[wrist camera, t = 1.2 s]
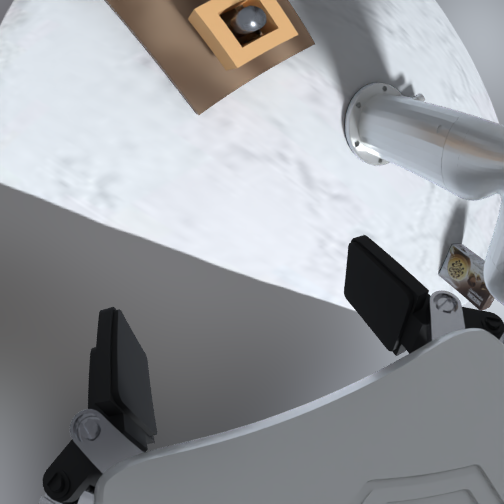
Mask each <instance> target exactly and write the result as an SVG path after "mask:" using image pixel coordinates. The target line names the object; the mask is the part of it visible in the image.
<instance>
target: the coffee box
mask: <svg viewBox="0 0 504 504" xmlns="http://www.w3.org/2000/svg"><path fill="white" fill-rule="evenodd" d="M484 263H485V261H484V260H483V259H482V258H480V257H479V256H478V255H476V254H475V253H473V252H472V251H471V250H469V249H468V248H467V247H465V246H464V245H462V244H452V245H451V248H450V250H449V252H448V255H447V257H446V259H445V262H444V264H443V266H442V268H441V271H440V273H439V276H440V277H442V278H443V279H444V280H445V281H446V282H448V283H449V284H450V285H451V286H452V287H454V288H455V289H456V290H457V291H458V292H459V293H461V294H462V295H463V296H464V297H465V298H466V299H468V300H469V301H470V302H471V303H472V304H473V305H474V306H475V307H477V308H478V309H479V310H481V311H482V310H485V309H487V308H489V307H490V305H491V303H492V302H493V300H494V297H493V296H492V295H491V293H490V292H489V290H488V289H487V287H486V284H485V281H484V273H483V270H484Z"/></svg>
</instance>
